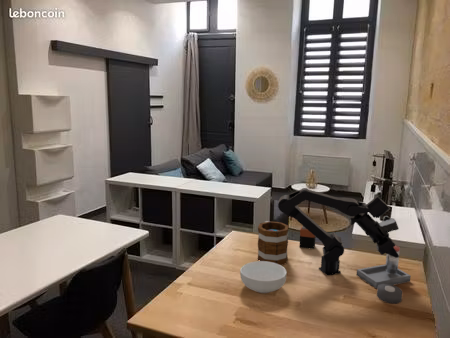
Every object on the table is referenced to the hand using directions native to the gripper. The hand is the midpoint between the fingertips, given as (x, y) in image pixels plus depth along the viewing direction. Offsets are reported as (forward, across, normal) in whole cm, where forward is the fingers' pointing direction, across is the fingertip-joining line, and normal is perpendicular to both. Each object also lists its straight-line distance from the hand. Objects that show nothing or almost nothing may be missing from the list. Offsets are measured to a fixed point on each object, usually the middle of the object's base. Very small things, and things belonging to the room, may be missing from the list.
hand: (396, 254), depth 143 cm
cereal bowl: (-28, -18, +42) cm, 54 cm away
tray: (+3, -2, +10) cm, 11 cm away
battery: (-16, +24, +30) cm, 42 cm away
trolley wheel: (+3, -16, +10) cm, 20 cm away
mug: (-28, +10, +42) cm, 51 cm away
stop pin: (+4, 0, +6) cm, 7 cm away
